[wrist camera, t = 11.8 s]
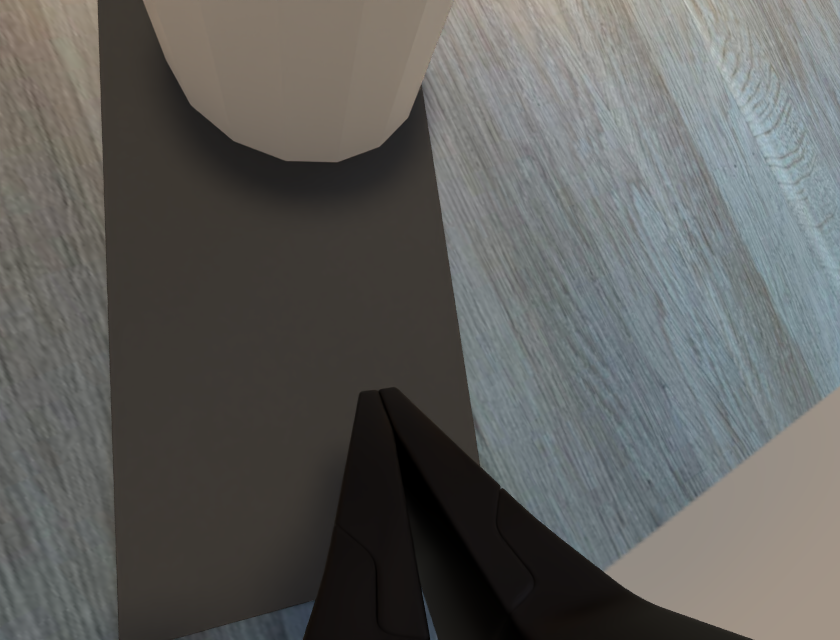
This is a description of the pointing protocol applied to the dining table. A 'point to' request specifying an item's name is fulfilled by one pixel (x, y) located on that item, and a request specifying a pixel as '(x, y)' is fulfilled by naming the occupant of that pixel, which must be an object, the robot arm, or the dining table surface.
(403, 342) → the plate
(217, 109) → the container
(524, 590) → the robot arm
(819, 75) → the dining table surface
